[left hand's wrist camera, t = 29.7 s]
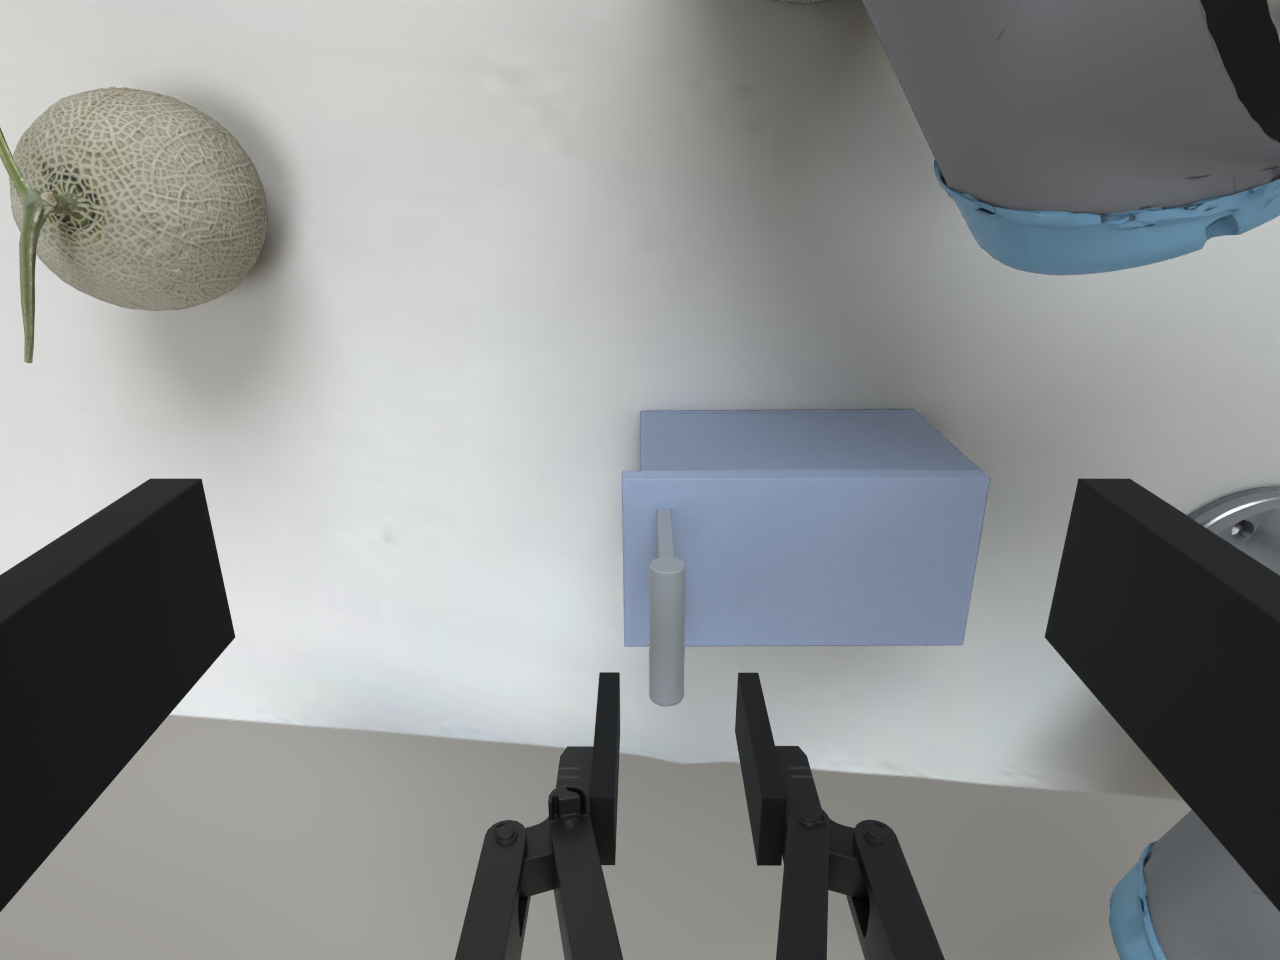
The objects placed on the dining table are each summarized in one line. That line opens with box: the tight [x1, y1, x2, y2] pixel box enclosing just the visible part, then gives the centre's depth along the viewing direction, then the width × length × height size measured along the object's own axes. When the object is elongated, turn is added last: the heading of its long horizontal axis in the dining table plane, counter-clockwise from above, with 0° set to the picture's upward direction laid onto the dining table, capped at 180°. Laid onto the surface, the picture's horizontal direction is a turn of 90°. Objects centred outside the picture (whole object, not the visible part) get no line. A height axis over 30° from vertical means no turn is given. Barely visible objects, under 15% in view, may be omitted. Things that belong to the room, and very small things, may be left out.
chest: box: [640, 410, 980, 471], centre depth 48 cm, size 17×10×11 cm, turn 90°
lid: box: [622, 470, 990, 706], centre depth 39 cm, size 18×10×8 cm, turn 90°
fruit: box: [0, 87, 268, 363], centre depth 39 cm, size 10×12×15 cm
